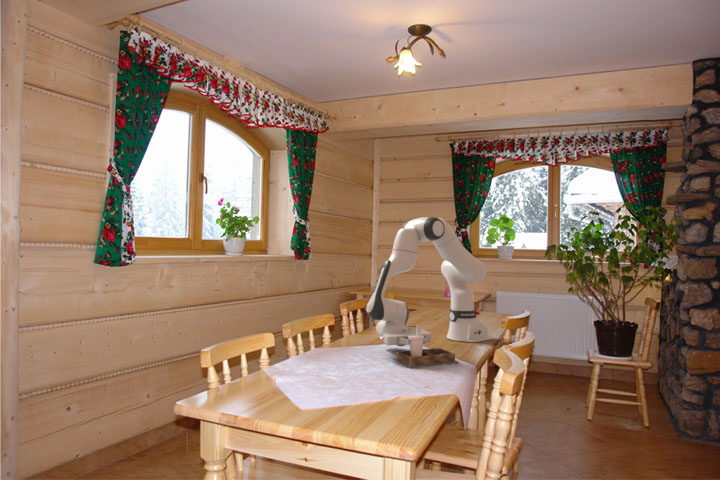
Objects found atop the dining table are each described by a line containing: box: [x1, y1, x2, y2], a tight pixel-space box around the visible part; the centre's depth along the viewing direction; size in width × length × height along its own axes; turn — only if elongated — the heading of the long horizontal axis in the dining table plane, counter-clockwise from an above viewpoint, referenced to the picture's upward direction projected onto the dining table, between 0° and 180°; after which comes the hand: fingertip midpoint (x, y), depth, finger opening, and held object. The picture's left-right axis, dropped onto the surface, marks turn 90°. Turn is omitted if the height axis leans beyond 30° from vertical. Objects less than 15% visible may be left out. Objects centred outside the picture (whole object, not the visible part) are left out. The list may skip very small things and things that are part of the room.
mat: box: [393, 357, 460, 369], centre depth 188 cm, size 22×13×1 cm, turn 114°
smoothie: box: [408, 324, 424, 357], centre depth 186 cm, size 6×6×14 cm
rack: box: [396, 347, 456, 366], centre depth 188 cm, size 20×10×3 cm, turn 114°
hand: (417, 341), depth 185 cm, fingers closed on smoothie, 6 cm apart
